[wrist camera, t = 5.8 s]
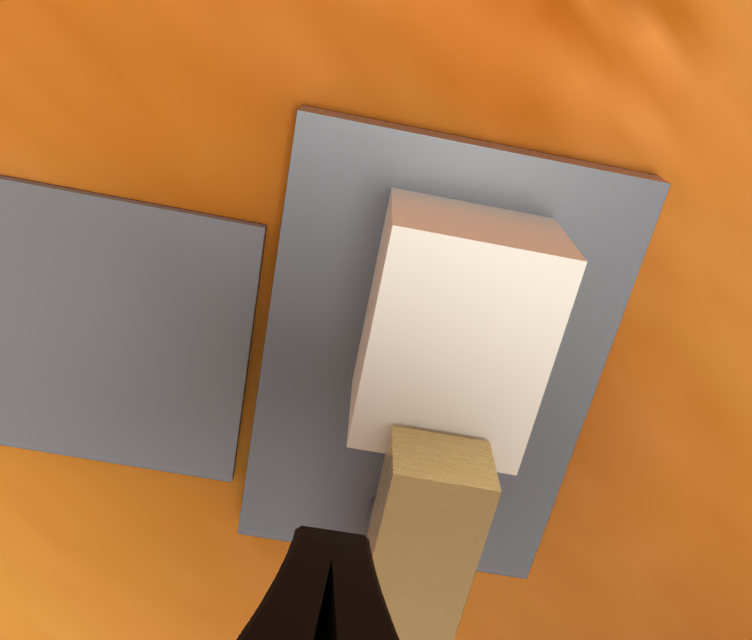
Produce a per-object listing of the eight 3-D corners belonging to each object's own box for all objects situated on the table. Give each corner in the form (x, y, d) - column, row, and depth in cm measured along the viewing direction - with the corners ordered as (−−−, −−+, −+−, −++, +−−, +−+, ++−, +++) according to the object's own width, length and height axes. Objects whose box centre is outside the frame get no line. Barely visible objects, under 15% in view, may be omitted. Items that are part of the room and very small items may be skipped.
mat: (266, 224, 21) (265, 228, 20) (233, 477, 24) (231, 482, 24) (-53, 165, 20) (-59, 167, 20) (-38, 432, 24) (-43, 438, 23)
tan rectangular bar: (489, 441, 18) (501, 491, 16) (401, 731, 22) (403, 796, 21) (392, 425, 18) (393, 474, 16) (323, 720, 22) (317, 785, 20)
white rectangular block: (554, 218, 19) (587, 261, 16) (497, 405, 22) (516, 475, 19) (391, 187, 19) (392, 225, 16) (352, 380, 22) (346, 447, 18)
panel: (657, 175, 20) (730, 222, 16) (521, 558, 26) (548, 668, 21) (301, 104, 19) (278, 134, 15) (242, 513, 25) (214, 618, 21)
